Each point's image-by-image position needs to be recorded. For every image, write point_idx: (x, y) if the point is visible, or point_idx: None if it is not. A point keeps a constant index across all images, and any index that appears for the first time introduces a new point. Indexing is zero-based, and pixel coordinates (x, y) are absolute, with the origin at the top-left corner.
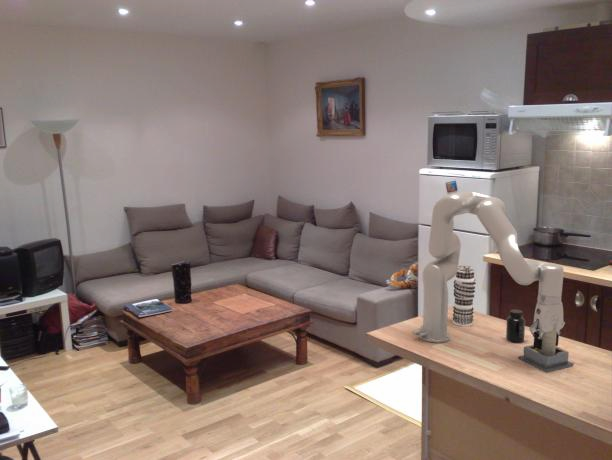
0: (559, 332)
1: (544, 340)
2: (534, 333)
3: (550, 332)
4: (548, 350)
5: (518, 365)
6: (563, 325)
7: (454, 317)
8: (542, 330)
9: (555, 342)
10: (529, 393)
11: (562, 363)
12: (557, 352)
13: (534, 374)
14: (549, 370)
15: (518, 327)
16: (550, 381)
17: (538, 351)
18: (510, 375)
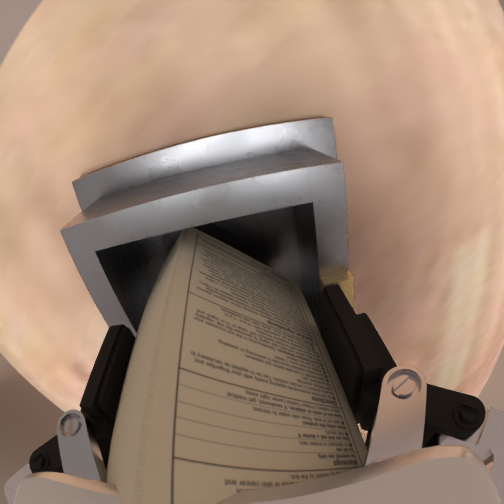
0: (63, 434)
1: (294, 371)
2: (482, 409)
3: (248, 476)
4: (237, 279)
5: (393, 252)
6: (18, 476)
7: None
8: (481, 461)
9: (167, 317)
10: (494, 20)
11: (143, 184)
12: (128, 285)
13: (402, 126)
14: (300, 120)
15: None
16: (375, 22)
17: (341, 277)
18: (483, 167)
